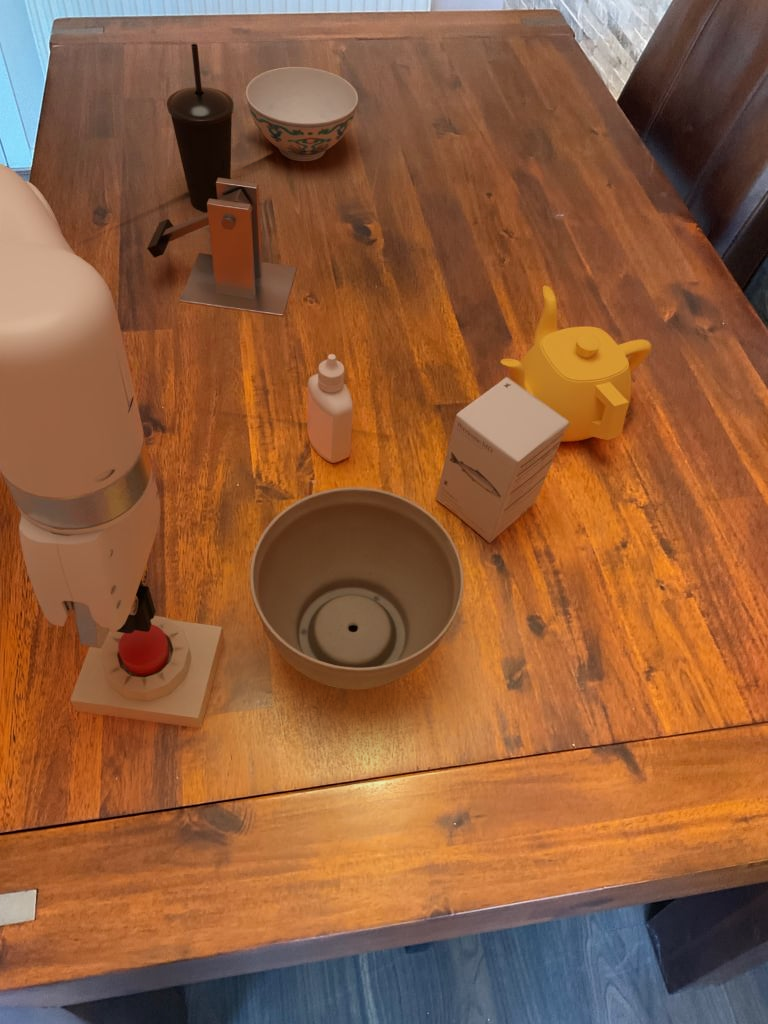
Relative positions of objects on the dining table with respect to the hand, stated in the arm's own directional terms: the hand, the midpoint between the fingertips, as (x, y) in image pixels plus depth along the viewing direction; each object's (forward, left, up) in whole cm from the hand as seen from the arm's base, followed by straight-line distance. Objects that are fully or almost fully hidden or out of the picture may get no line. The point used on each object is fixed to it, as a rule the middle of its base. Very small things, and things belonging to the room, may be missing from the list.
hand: (131, 619), depth 59 cm
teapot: (+5, +50, -9) cm, 51 cm away
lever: (-34, +35, -1) cm, 49 cm away
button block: (0, 0, -9) cm, 9 cm away
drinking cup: (-47, +45, -9) cm, 65 cm away
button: (0, 0, -5) cm, 5 cm away
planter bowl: (+9, +14, -9) cm, 19 cm away
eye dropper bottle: (-8, +28, -9) cm, 30 cm away
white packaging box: (+8, +34, -9) cm, 36 cm away
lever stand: (-32, +37, -9) cm, 49 cm away
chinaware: (-50, +64, -9) cm, 81 cm away
